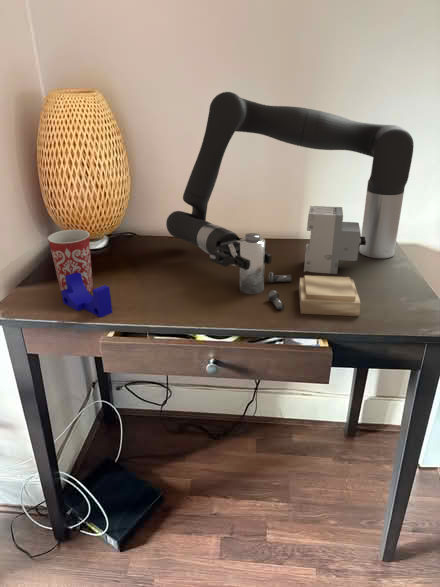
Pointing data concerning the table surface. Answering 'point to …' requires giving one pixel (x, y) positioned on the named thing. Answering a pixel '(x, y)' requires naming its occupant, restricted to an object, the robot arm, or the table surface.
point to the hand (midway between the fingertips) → (258, 262)
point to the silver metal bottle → (252, 264)
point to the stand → (328, 296)
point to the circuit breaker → (330, 240)
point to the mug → (72, 256)
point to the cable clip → (86, 296)
